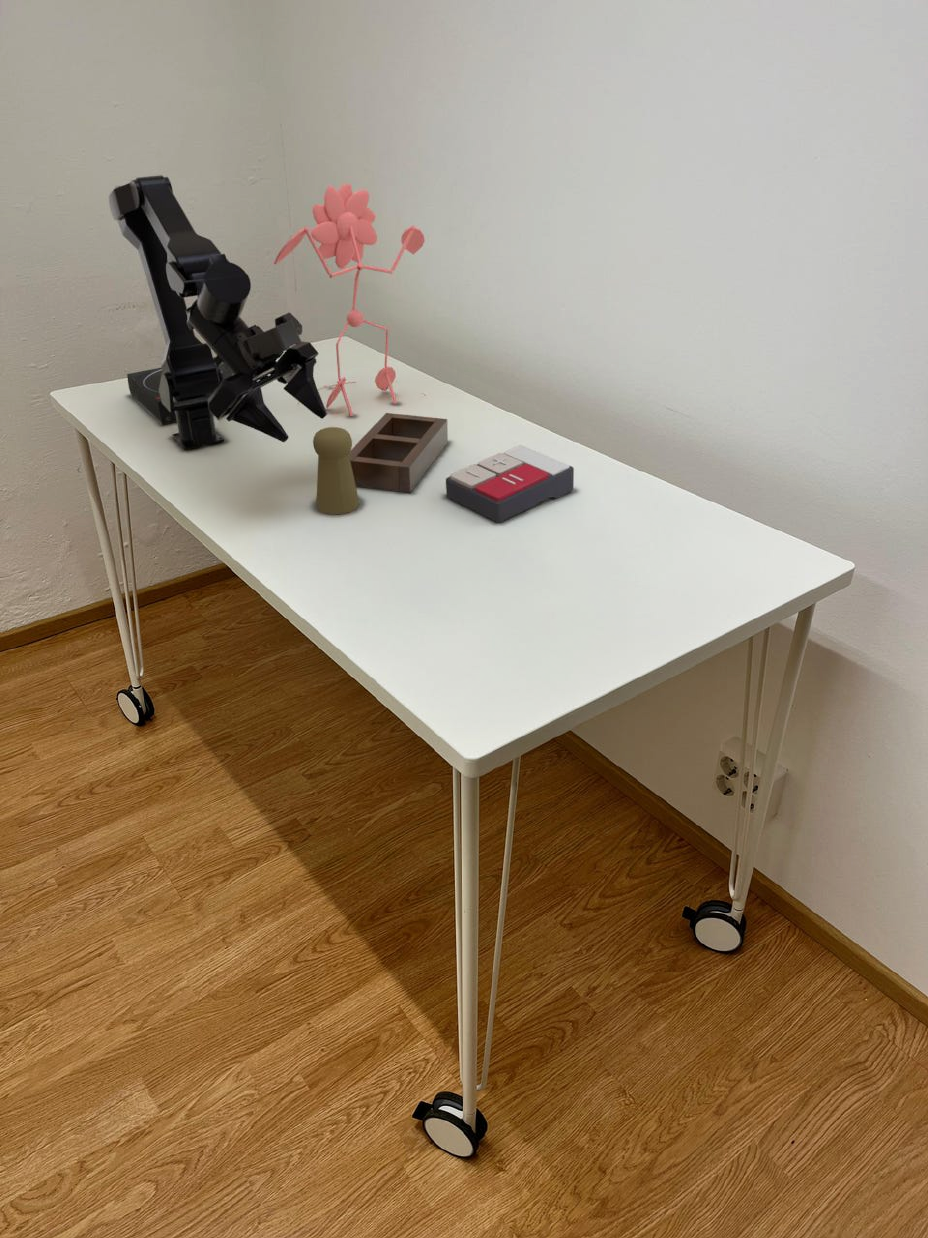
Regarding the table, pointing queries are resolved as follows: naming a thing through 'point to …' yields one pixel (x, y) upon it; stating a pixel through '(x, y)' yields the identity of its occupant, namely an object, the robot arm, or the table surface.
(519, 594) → the table surface
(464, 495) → the calculator
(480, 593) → the table surface
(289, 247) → the figurine
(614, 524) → the table surface
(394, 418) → the hole block
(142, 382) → the portable cd player
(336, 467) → the olive game pawn
